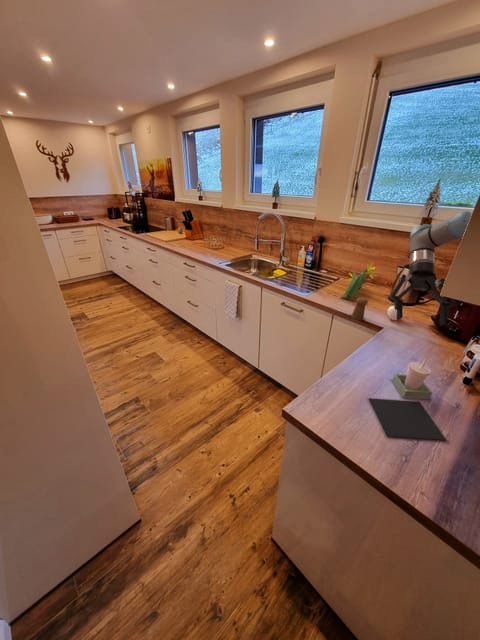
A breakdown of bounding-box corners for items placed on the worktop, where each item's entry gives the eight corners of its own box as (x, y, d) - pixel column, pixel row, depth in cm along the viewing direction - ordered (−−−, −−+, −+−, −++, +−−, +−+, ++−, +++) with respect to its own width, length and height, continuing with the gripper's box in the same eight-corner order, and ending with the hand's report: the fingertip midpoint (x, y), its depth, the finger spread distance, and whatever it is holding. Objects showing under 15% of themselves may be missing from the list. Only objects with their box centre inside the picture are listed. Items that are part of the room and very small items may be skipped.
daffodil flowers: (328, 296, 162) (349, 268, 181) (347, 311, 161) (366, 282, 180) (346, 280, 148) (367, 252, 167) (366, 297, 147) (385, 267, 166)
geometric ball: (396, 325, 136) (409, 318, 129) (383, 318, 136) (395, 312, 129) (396, 313, 140) (408, 306, 133) (383, 307, 139) (395, 299, 132)
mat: (418, 402, 85) (419, 401, 85) (445, 440, 73) (446, 439, 73) (368, 399, 86) (369, 398, 86) (387, 436, 74) (387, 435, 73)
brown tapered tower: (348, 317, 136) (354, 298, 131) (354, 314, 140) (359, 295, 134) (360, 321, 132) (365, 302, 127) (365, 318, 136) (371, 298, 130)
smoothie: (414, 399, 87) (430, 365, 80) (395, 387, 91) (409, 354, 84) (424, 391, 90) (440, 359, 83) (405, 380, 94) (419, 348, 87)
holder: (415, 382, 94) (418, 375, 92) (429, 399, 87) (432, 392, 85) (391, 380, 94) (394, 373, 93) (403, 397, 87) (406, 391, 85)
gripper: (453, 274, 96) (455, 329, 91) (380, 267, 101) (377, 319, 95) (467, 264, 89) (470, 323, 83) (388, 257, 94) (385, 312, 88)
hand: (421, 321), depth 89 cm, fingers open, 13 cm apart
